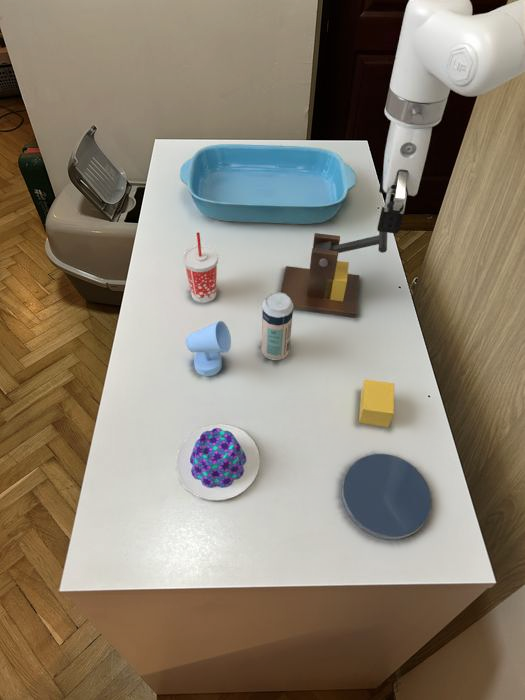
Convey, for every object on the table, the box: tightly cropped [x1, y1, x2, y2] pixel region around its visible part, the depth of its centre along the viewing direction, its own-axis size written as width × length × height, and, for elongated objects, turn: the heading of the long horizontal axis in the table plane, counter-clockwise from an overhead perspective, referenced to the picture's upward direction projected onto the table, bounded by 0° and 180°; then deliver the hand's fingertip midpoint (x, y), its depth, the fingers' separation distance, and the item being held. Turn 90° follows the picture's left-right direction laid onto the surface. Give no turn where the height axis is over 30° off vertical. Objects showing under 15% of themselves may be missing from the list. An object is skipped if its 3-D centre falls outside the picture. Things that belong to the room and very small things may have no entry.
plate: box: [341, 453, 432, 541], centre depth 73 cm, size 12×12×1 cm
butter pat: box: [358, 378, 395, 428], centre depth 81 cm, size 4×6×4 cm
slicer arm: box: [315, 231, 388, 254], centre depth 89 cm, size 12×6×2 cm, turn 81°
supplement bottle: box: [260, 291, 294, 361], centre depth 85 cm, size 5×5×12 cm
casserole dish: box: [179, 143, 357, 225], centre depth 113 cm, size 37×22×7 cm, turn 89°
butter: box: [324, 260, 350, 301], centre depth 95 cm, size 4×5×5 cm
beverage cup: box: [182, 232, 219, 303], centre depth 93 cm, size 6×6×14 cm
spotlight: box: [185, 320, 232, 377], centre depth 84 cm, size 5×10×7 cm
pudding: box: [175, 423, 261, 501], centre depth 75 cm, size 12×12×5 cm
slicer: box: [280, 232, 360, 319], centre depth 94 cm, size 14×10×12 cm
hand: (388, 211), depth 83 cm, fingers open, 9 cm apart
